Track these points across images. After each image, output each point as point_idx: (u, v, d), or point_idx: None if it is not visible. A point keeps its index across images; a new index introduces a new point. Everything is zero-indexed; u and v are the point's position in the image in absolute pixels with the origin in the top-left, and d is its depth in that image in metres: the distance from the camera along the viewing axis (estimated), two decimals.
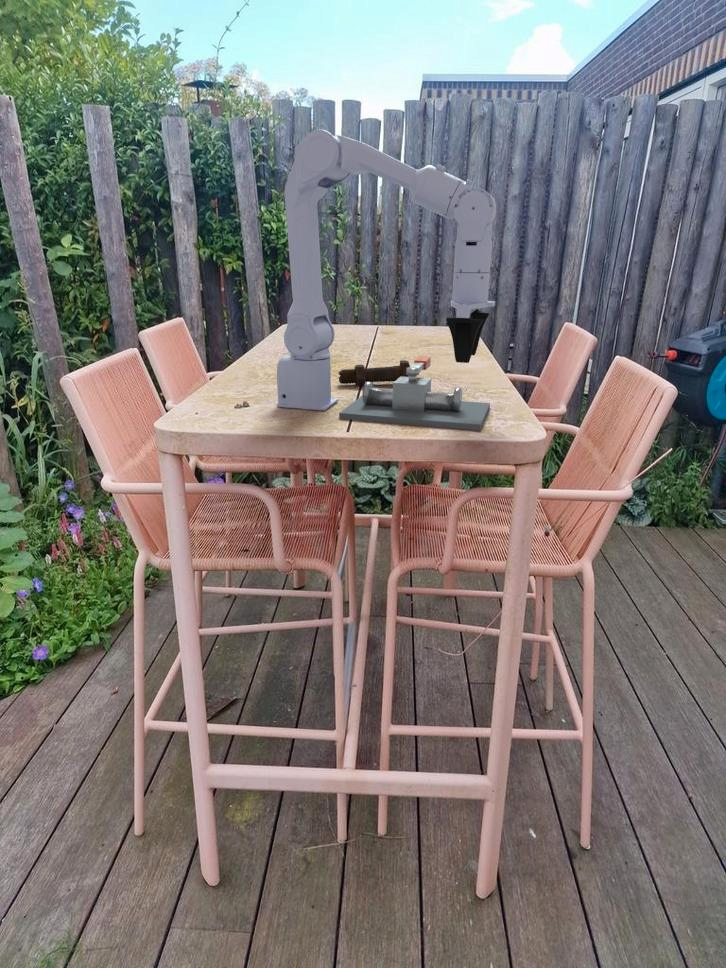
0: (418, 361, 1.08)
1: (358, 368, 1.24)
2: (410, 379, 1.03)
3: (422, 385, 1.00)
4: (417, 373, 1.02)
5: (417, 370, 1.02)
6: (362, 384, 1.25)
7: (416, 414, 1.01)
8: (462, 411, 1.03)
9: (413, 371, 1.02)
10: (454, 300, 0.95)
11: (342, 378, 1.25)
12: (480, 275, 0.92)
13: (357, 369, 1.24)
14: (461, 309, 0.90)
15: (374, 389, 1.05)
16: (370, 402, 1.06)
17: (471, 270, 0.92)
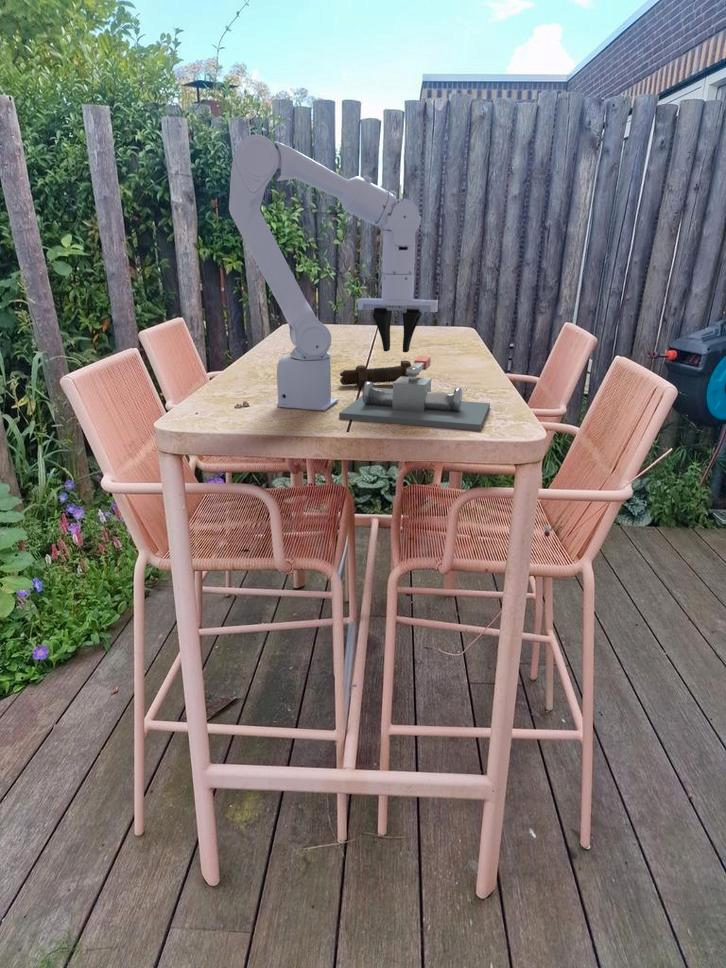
0: (418, 361, 1.08)
1: (360, 369, 1.24)
2: (410, 379, 1.03)
3: (422, 385, 1.00)
4: (417, 373, 1.02)
5: (417, 370, 1.02)
6: None
7: (416, 414, 1.01)
8: (462, 411, 1.03)
9: (413, 371, 1.02)
10: None
11: (344, 379, 1.24)
12: (383, 276, 1.05)
13: (359, 370, 1.24)
14: None
15: (374, 389, 1.05)
16: (370, 402, 1.06)
17: (404, 272, 1.03)
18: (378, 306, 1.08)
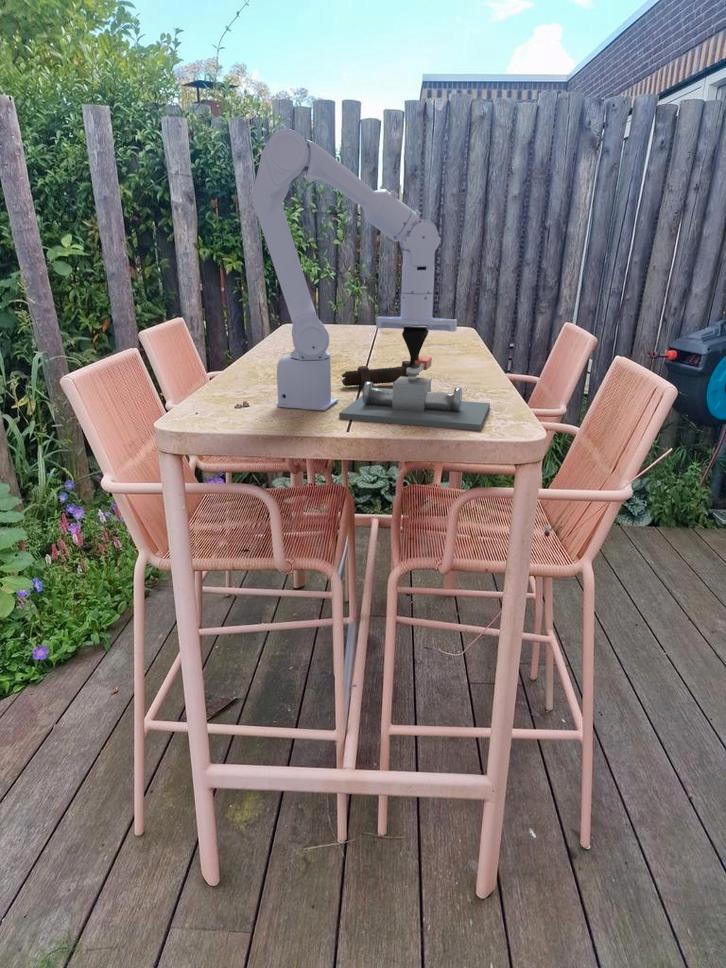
0: (419, 361, 1.08)
1: (363, 370, 1.23)
2: (410, 379, 1.03)
3: (422, 385, 1.00)
4: (417, 373, 1.02)
5: (417, 370, 1.02)
6: None
7: (416, 414, 1.01)
8: (462, 411, 1.03)
9: (413, 371, 1.02)
10: None
11: (347, 380, 1.23)
12: (402, 295, 1.05)
13: (362, 371, 1.23)
14: None
15: (374, 389, 1.05)
16: (370, 402, 1.06)
17: (422, 291, 1.03)
18: (397, 325, 1.08)
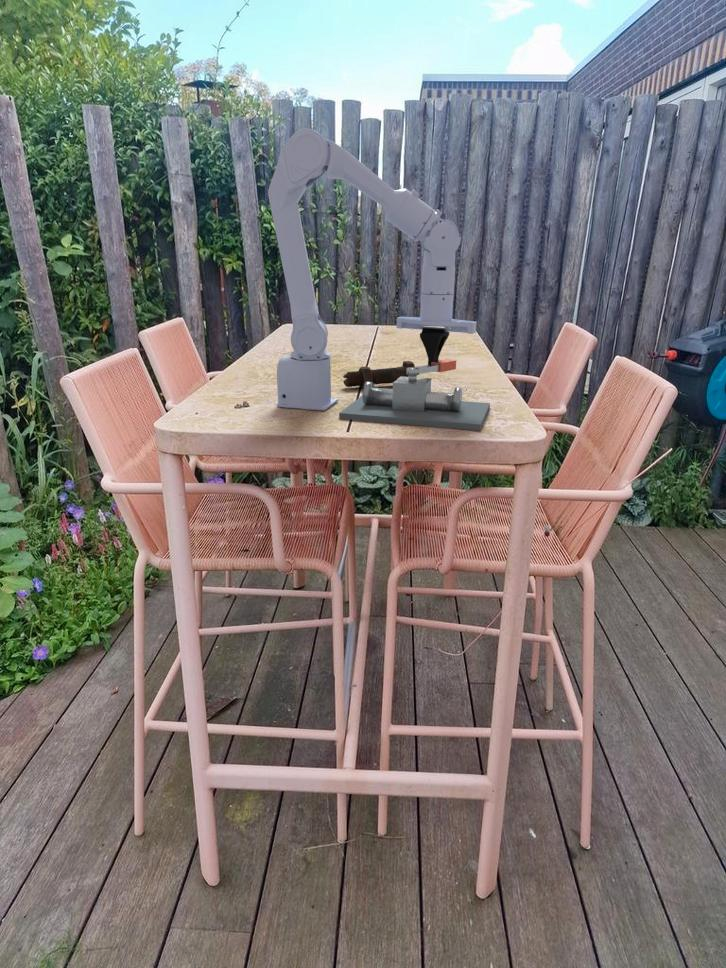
0: (434, 363, 1.07)
1: (365, 370, 1.22)
2: (410, 379, 1.03)
3: (422, 385, 1.00)
4: (414, 373, 1.02)
5: (414, 370, 1.02)
6: None
7: (416, 414, 1.01)
8: (462, 411, 1.03)
9: (410, 371, 1.02)
10: None
11: (349, 381, 1.22)
12: (421, 295, 1.04)
13: (364, 371, 1.22)
14: None
15: (374, 389, 1.05)
16: (370, 402, 1.06)
17: (441, 292, 1.02)
18: (417, 325, 1.08)
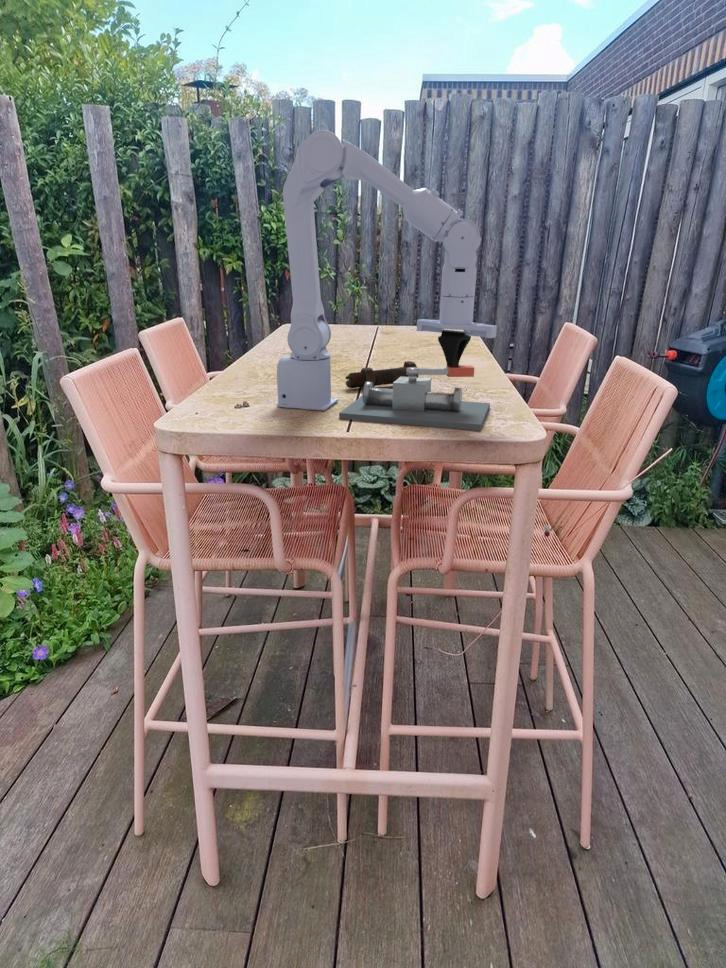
0: (447, 367, 1.03)
1: (367, 371, 1.21)
2: (410, 379, 1.03)
3: (422, 385, 1.00)
4: (410, 373, 1.02)
5: (410, 370, 1.02)
6: None
7: (416, 414, 1.01)
8: (462, 411, 1.03)
9: (407, 370, 1.02)
10: None
11: (352, 382, 1.21)
12: None
13: (366, 372, 1.21)
14: None
15: (374, 389, 1.05)
16: (370, 402, 1.06)
17: (460, 295, 0.98)
18: (436, 328, 1.05)
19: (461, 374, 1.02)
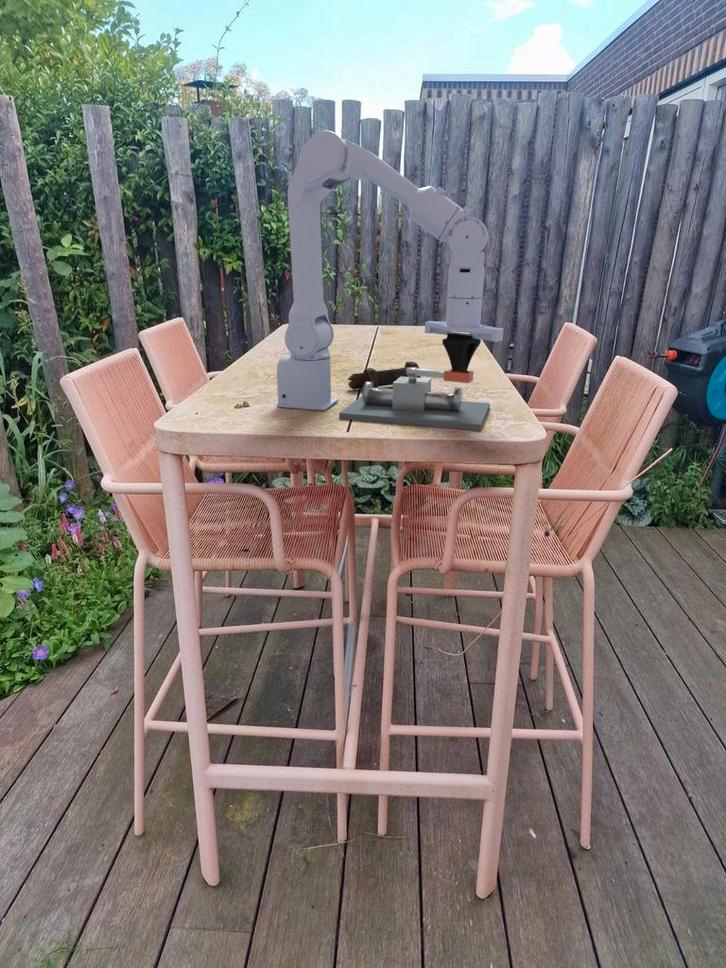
0: None
1: (370, 372, 1.21)
2: (410, 379, 1.03)
3: (422, 385, 1.00)
4: (407, 373, 1.02)
5: (407, 370, 1.02)
6: None
7: (416, 414, 1.01)
8: (462, 411, 1.03)
9: None
10: None
11: (355, 383, 1.20)
12: (447, 299, 0.98)
13: (369, 373, 1.21)
14: None
15: (374, 389, 1.05)
16: (370, 402, 1.06)
17: (465, 296, 0.94)
18: (444, 330, 1.01)
19: (456, 379, 0.98)
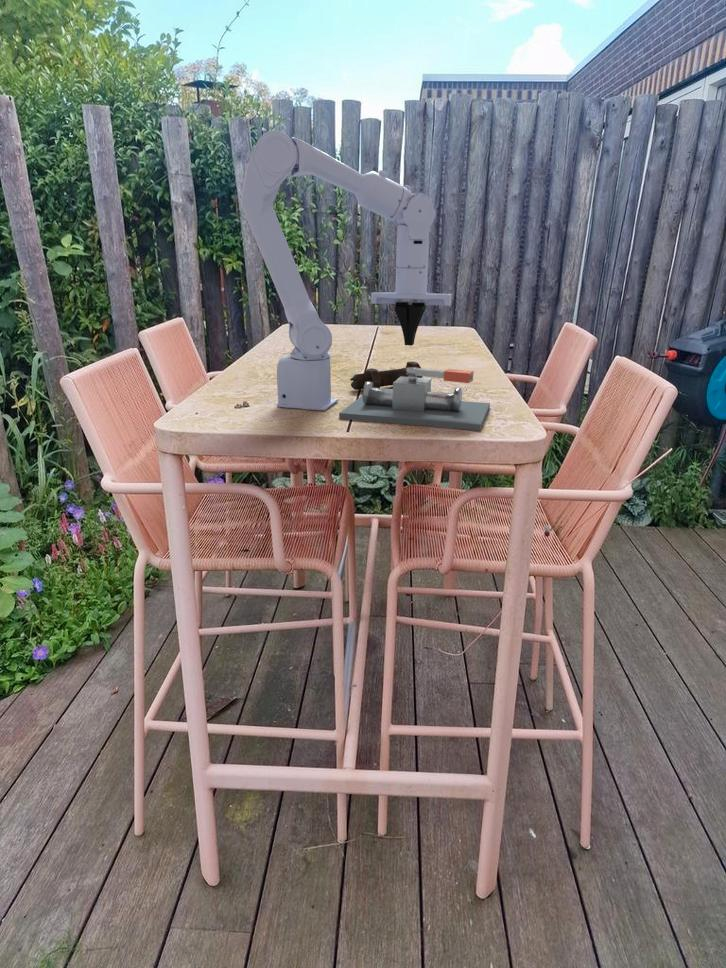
0: None
1: (373, 372, 1.20)
2: (410, 379, 1.03)
3: (422, 385, 1.00)
4: (407, 373, 1.02)
5: (407, 370, 1.02)
6: None
7: (416, 414, 1.01)
8: (462, 411, 1.03)
9: None
10: None
11: (358, 383, 1.20)
12: (397, 269, 1.05)
13: (372, 373, 1.20)
14: None
15: (374, 389, 1.05)
16: (370, 402, 1.06)
17: (418, 265, 1.04)
18: (391, 300, 1.09)
19: (456, 379, 0.98)
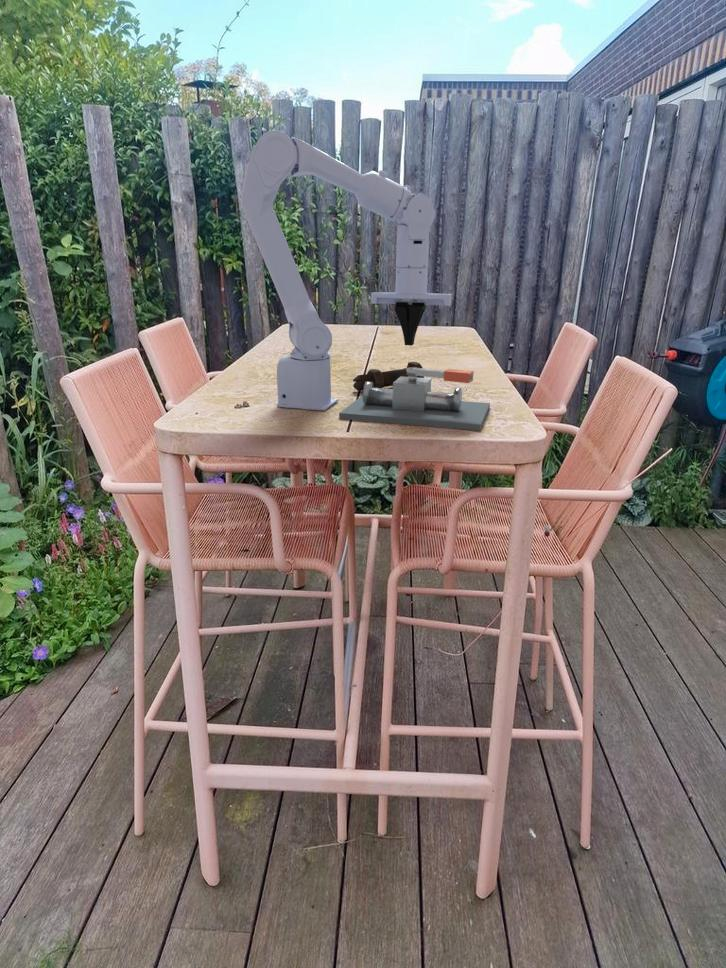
0: None
1: (376, 373, 1.20)
2: (410, 379, 1.03)
3: (422, 385, 1.00)
4: (407, 373, 1.02)
5: (407, 370, 1.02)
6: None
7: (416, 414, 1.01)
8: (462, 411, 1.03)
9: None
10: None
11: (361, 384, 1.19)
12: (397, 269, 1.05)
13: (375, 374, 1.20)
14: None
15: (374, 389, 1.05)
16: (370, 402, 1.06)
17: (418, 265, 1.04)
18: (391, 300, 1.09)
19: (456, 379, 0.98)
